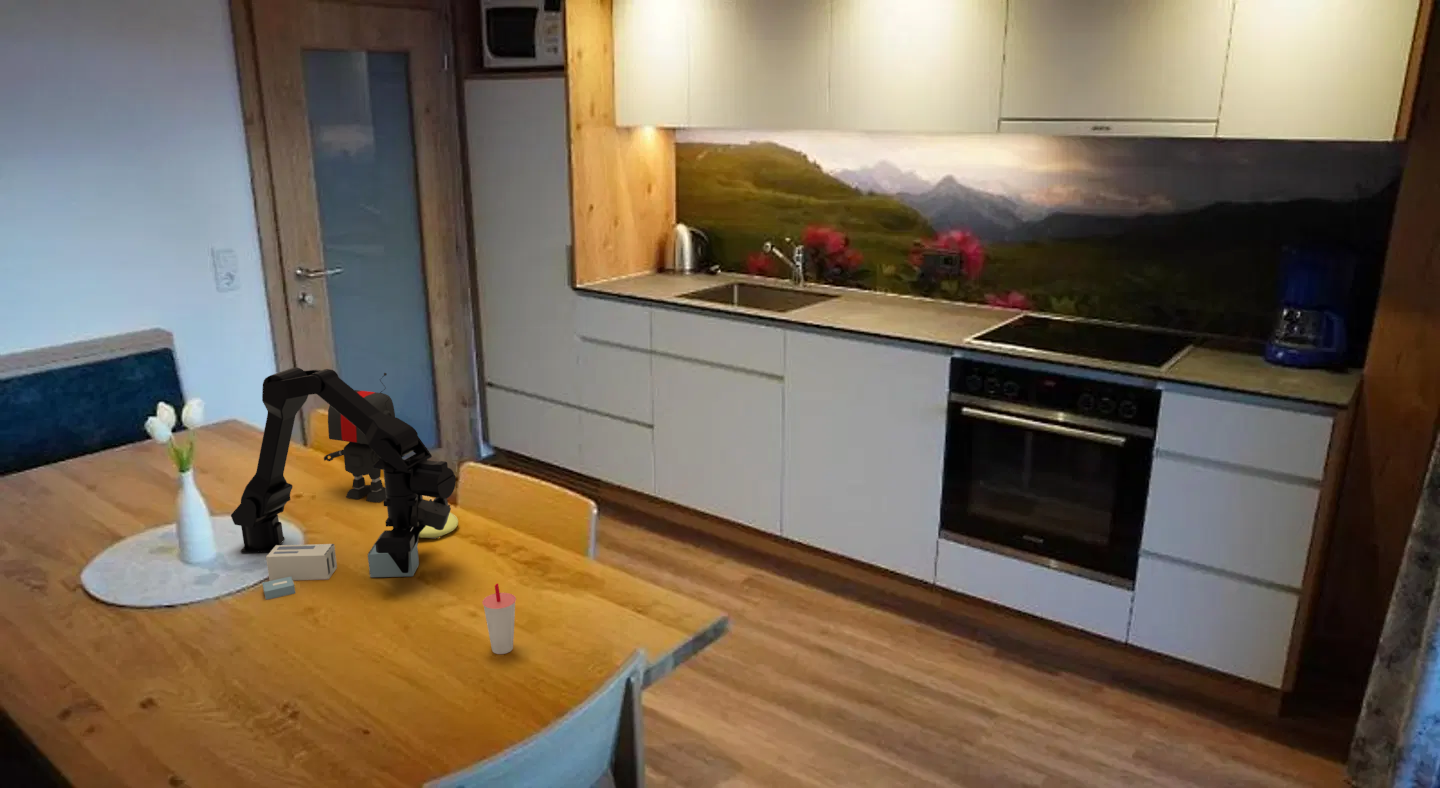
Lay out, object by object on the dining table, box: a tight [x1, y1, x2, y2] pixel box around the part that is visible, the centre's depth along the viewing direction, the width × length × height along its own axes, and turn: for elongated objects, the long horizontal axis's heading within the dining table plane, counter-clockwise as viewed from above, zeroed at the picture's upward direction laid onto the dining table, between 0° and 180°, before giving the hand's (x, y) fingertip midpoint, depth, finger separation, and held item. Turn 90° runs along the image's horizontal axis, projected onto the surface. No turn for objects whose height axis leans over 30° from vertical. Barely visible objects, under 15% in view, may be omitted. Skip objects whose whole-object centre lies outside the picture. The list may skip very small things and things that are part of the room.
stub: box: [367, 543, 420, 578], centre depth 187 cm, size 8×5×5 cm, turn 93°
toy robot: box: [323, 372, 396, 503], centre depth 220 cm, size 22×9×30 cm, turn 71°
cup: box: [482, 583, 517, 655], centre depth 159 cm, size 5×5×12 cm
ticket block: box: [265, 543, 338, 581], centre depth 186 cm, size 11×5×5 cm, turn 93°
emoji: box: [419, 511, 459, 539], centre depth 205 cm, size 4×12×12 cm
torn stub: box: [261, 577, 296, 600], centre depth 180 cm, size 5×4×2 cm
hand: (408, 566), depth 188 cm, fingers closed on stub, 5 cm apart
